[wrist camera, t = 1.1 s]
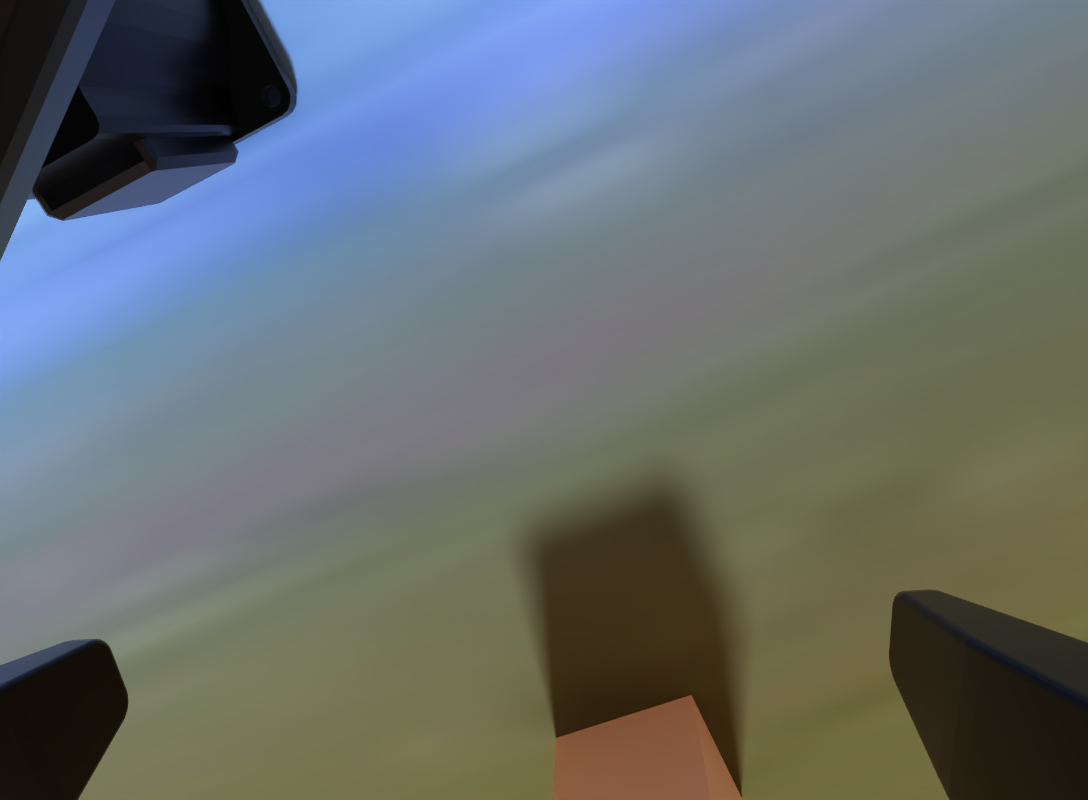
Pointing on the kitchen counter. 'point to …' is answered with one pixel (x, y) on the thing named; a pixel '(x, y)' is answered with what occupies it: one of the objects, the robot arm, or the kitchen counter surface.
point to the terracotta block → (644, 758)
